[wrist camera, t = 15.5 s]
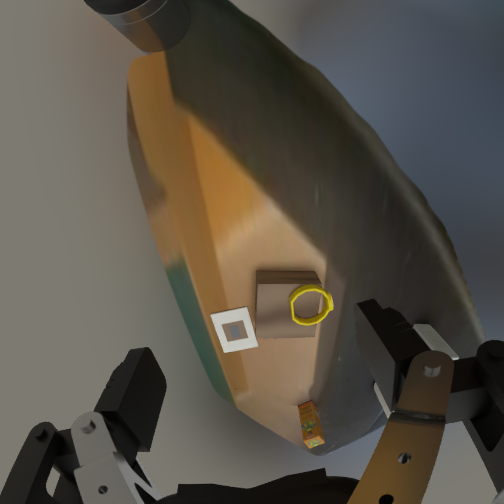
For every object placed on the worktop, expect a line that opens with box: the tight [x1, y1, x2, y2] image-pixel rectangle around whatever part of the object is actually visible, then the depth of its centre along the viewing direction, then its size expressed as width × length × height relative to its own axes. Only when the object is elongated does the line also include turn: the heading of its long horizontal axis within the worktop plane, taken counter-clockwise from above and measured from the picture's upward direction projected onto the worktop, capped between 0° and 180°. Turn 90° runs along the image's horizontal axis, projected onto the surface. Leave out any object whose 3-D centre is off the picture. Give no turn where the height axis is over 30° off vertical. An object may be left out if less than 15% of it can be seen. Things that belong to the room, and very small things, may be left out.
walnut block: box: [255, 271, 322, 338], centre depth 45 cm, size 9×9×5 cm
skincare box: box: [413, 324, 459, 360], centre depth 45 cm, size 6×4×12 cm
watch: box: [289, 284, 333, 326], centre depth 42 cm, size 6×3×6 cm
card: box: [211, 306, 258, 353], centre depth 49 cm, size 8×6×1 cm
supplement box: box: [298, 401, 325, 448], centre depth 51 cm, size 3×3×10 cm
